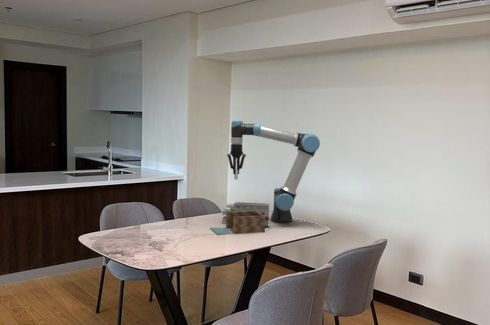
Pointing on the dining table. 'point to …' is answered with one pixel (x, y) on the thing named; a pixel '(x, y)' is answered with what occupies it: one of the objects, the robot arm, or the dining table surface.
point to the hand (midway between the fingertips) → (236, 179)
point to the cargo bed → (245, 222)
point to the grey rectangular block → (247, 209)
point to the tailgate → (221, 231)
